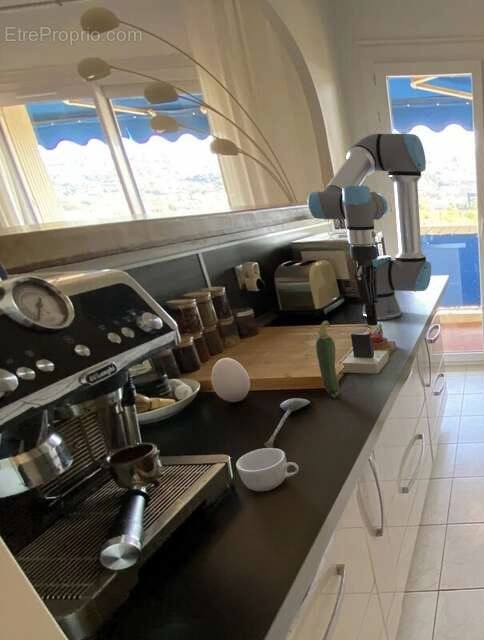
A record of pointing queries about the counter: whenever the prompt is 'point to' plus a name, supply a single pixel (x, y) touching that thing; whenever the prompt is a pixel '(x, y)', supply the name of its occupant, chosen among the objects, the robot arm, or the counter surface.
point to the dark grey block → (362, 345)
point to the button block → (385, 346)
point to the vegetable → (327, 360)
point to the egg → (230, 380)
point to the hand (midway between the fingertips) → (372, 324)
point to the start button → (377, 338)
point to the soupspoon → (286, 415)
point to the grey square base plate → (365, 363)
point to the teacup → (264, 469)
